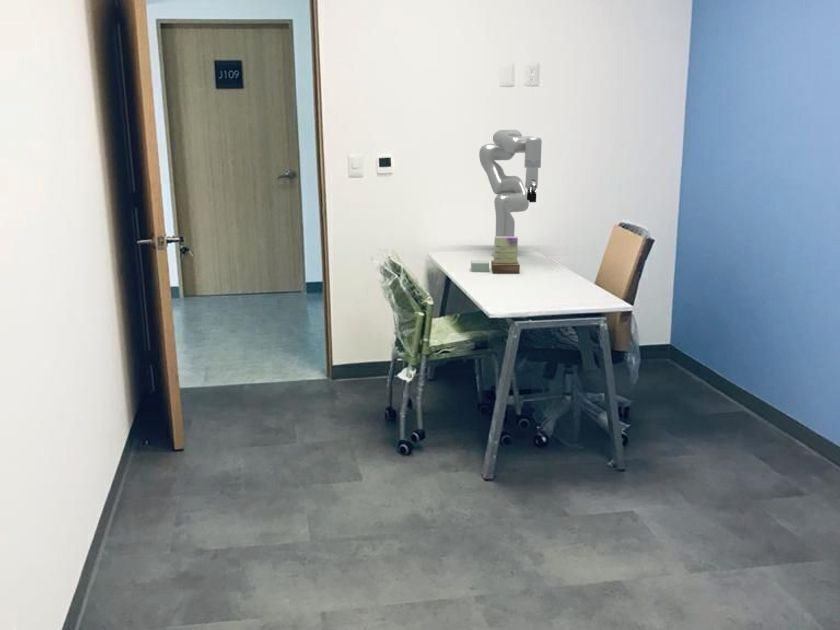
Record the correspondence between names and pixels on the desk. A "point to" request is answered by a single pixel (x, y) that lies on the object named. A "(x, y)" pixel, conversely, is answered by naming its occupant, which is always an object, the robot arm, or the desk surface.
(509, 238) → the box
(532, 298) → the desk surface
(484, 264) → the green block
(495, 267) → the walnut base
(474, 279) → the desk surface
